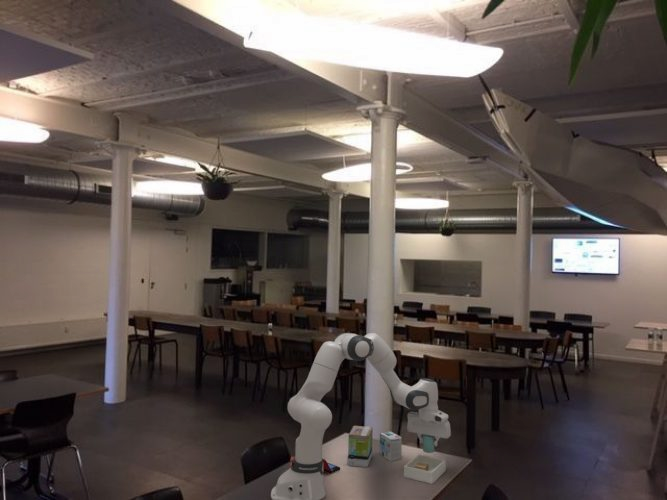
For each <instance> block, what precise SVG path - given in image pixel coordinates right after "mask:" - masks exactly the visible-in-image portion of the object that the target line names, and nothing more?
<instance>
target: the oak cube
mask: <svg viewBox="0 0 667 500" xmlns="http://www.w3.org/2000/svg"><path fill="white" fill-rule="evenodd" d="M414 468H416V469H421V470H425V471H429V464H426V463H422V462H418V463H416V464H415V465H414Z"/></svg>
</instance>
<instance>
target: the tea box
mask: <svg viewBox="0 0 667 500" xmlns="http://www.w3.org/2000/svg"><path fill="white" fill-rule="evenodd" d="M373 436H374V435H373V427H372V426H362V425H353V426H352V428H351V430H350V432H349V433H348V443H347V445H348V447H347V448H348V449H347V450H348V451H347V452H348V454H347V465H348V466H352V467H360V468H361V467H362V468H368V467H369V465H370V462H371V459H372V457H373Z"/></svg>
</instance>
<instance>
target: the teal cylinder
mask: <svg viewBox="0 0 667 500" xmlns="http://www.w3.org/2000/svg"><path fill="white" fill-rule="evenodd" d="M422 438H423V444H422V452H424V453H425V454H427V453H428V454H432V453H434V452H435V446H433V442H434V441H435V436H430V435H424V434H422Z"/></svg>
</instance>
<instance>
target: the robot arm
mask: <svg viewBox="0 0 667 500" xmlns="http://www.w3.org/2000/svg"><path fill="white" fill-rule="evenodd" d="M345 359H346V360H351V361H357V362H358V361H359V362H360V361H363V360H365V359H367V361H368V362H369V364H371V366H372V367H373V369H375V370H376V372H377V373H378V374H379V375H380V377H381V378H382V379H383V381H384V383H385V384H386V387H388V389H389V393H390V397H391V399H392V401H393V402H394V403H395V404H397V405H399V406H403V407H404V408H406V409H408V410H410V411H409V412H408V413H407V423H406V425H407V426H406V430H407V432H409V433H413V434H417V437H418V439H419V444H421V445H423V435H430V436H434V442H433V446H434V447H437V446H438V441H439V440H440V439H449V438H450V437H451V435H452V434H451V433H452V431H451V423H450V422H449V420H448V419H449V415H448V414H447V413H445V412H444V411H442V410H439V405H438V401H439V390H438V389H439V388H438V383H437V382H436V381H435V380H433V379H431V378H425V377H424V378H420V379H419V380H418V381H417V383H415V384H414V385H412V386H411V385H408V384H407V383H406V382H403V381H401V379H400V378H399V377H398V375H397V373H396V371H395V370H394V369H395V368H396V365H397V362H398V361H397V357H396V355H395V353H394V352H393V350H392V349H391V347H390V346H389V344H388V343H387V342H386V341H385V340H384V338H382V337H381V336H380V335H379V334H377V333H375V332H369V333H367V334H365V335H360V334H359V335H358V334H356V333H352V332H342V333H339V334H337V335H336V336H335V337H334V339H332V340H331V341H324V342H323V343H322V345H321V346H320V348H319V350H318V351H317V353H316V356H315V357H314V361H313V363H312V365H311V368H310V371H309V372H308V376H307V378H306V380H305V382H304V383H303V385H302V387H301V388H300V390H298V392H297V394H295V395H294V396H292V397H290V398H289V401H288V402H287V412H288V414H289V415H290V416H291V418H292V419H293V420H294V421H296V422H298V423H300V425H301V427H300V433H299V436H298V437H297V438H296V439H295V447H294V448H295V456H291V457H290V465H289V468H288V469H287V470H285V471H284V472H283V473H282V474H281V475H280V476H279V477H278V479H277V483H276V485H274V487H273V488H272V489H271V492H270V498H271V500H322V499H323V498H324V497H326V495H327V492H326V488H325V484H324V477H323V476H324V475H323V473H324V471H323V459H324V458H323V442H324V441H323V440H324V436H325V432H326V430H327V429H328V428H329V427H330V425H331V424H332V420H333V414H332V410H330V408H329V407H328V406H327V405H326V404H324V402H322V401H321V400H322V399H323V398H324V396H325V395H326V394H327V393H329V392H330V391H332V389H333V387H334V384H335V381H336V378H337V376H338V373H339V369H340V367H341V365H342V362H343V361H344V360H345ZM411 410H412V411H411ZM417 410H418V411H417Z"/></svg>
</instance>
